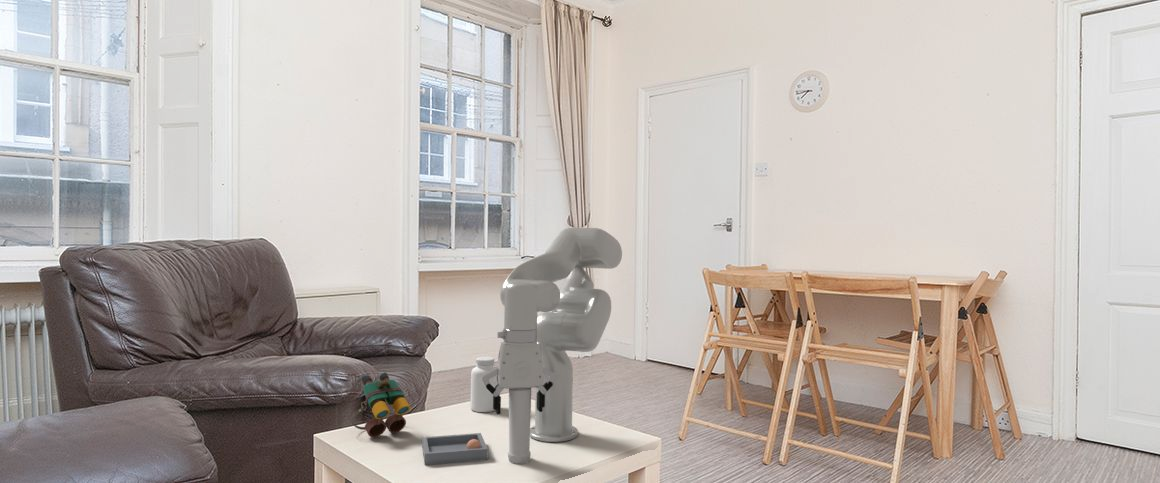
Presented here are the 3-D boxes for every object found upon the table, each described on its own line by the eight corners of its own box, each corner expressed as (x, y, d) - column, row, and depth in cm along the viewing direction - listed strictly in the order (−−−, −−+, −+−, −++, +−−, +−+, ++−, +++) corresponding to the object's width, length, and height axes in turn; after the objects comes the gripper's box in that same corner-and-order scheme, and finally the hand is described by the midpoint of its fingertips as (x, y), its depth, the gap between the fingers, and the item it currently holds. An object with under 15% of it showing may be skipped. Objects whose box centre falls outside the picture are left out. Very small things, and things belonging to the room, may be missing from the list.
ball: (466, 451, 152) (466, 437, 152) (479, 450, 153) (479, 436, 153) (467, 456, 149) (467, 442, 149) (481, 454, 150) (481, 441, 150)
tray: (422, 447, 157) (422, 437, 157) (480, 443, 161) (480, 432, 161) (424, 465, 145) (424, 453, 145) (487, 459, 149) (487, 448, 149)
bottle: (504, 458, 151) (506, 350, 150) (525, 455, 153) (527, 348, 152) (512, 465, 146) (513, 354, 145) (533, 462, 148) (535, 352, 148)
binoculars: (356, 452, 163) (370, 407, 156) (338, 413, 171) (350, 369, 165) (408, 440, 172) (423, 398, 166) (388, 404, 181) (401, 362, 175)
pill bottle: (492, 413, 186) (493, 361, 186) (466, 411, 188) (466, 360, 188) (501, 406, 194) (502, 356, 194) (476, 404, 196) (476, 355, 195)
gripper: (484, 340, 143) (483, 418, 143) (561, 338, 147) (559, 414, 147) (480, 335, 150) (478, 409, 150) (553, 333, 155) (551, 405, 155)
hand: (518, 411), depth 149 cm, fingers open, 9 cm apart
